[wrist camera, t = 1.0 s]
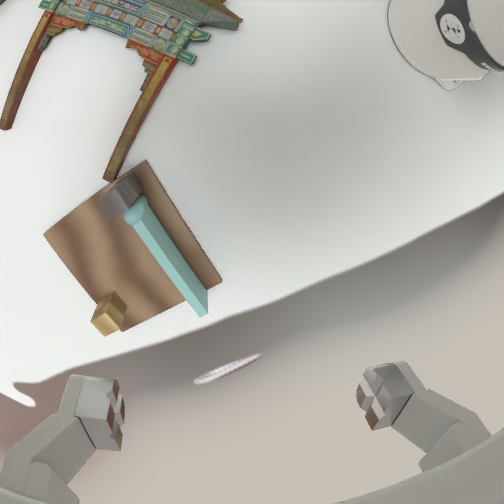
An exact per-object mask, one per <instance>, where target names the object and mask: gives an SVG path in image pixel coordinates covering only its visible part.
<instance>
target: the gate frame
mask: <svg viewBox="0 0 504 504" xmlns="http://www.w3.org/2000/svg"><path fill="white" fill-rule="evenodd" d="M138 195H144V196H146V197H147V198H148V205H149V207H150V208H151V210H152V211H153V213H154V214H155V216H156V217H157V219H158V221H159V222H160V224H161V225H162V227H163V228H164V230H165V231H166V233H167V234H168V236H169V237H170V238H171V240H172V241H173V243H174V244H175V246H176V247H177V249H178V250H179V252H180V253H181V255H182V256H183V258H184V259H185V260H186V262H187V263H188V265H189V266H190V268H191V269H192V271H193V272H194V273H195V275H196V276H197V278H198V279H199V280H200V282H201V283H202V285H203V286H204V288H205V289H206V290H208V289H210V288H212V287H214V286H215V285H217V284H219V283H221V282H222V278H221V277H220V275H219V274H218V272H217V271H216V269H215V268H214V266H213V265H212V263H211V262H210V260H209V259H208V257H207V256H206V254H205V253H204V251H203V250H202V248H201V246H200V245H199V243H198V242H197V240H196V239H195V237H194V236H193V234H192V233H191V231H190V229H189V228H188V226H187V225H186V223H185V222H184V220H183V219H182V217H181V215H180V214H179V212H178V211H177V209H176V207H175V206H174V204H173V203H172V201H171V200H170V198H169V196H168V195H167V193H166V192H165V190H164V188H163V187H162V185H161V184H160V182H159V180H158V179H157V177H156V175H155V174H154V172H153V171H152V169H151V167H150V166H149V164H148V162H147V161H146V160H145V161H144V162H142V163H140V164H139V165H137V166H136V167H134V168H133V169H131V170H130V171H128V172H127V173H125V174H124V175H122V176H121V177H119V178H118V179H116V180H115V181H113V182H112V183H110V184H109V185H107V186H106V187H105V188H103V189H102V190H100V191H99V192H97V193H96V194H95V195H93V196H92V197H91V198H89V199H88V200H86V201H85V202H84V203H82V204H81V205H80V206H78V207H77V208H76V209H74V210H73V211H72V212H70V213H69V214H68V215H67V216H65V217H64V218H63V219H62V220H60V221H59V222H58V223H56V224H55V225H54V226H53V227H51V228H50V229H49V230H48V231H47V232H45V233H44V234H43V235H44V237H45V238H46V239H47V241H48V242H49V244H50V245H51V246H52V248H53V249H54V251H55V252H56V253H57V255H58V256H59V257H60V259H61V260H62V261H63V263H64V264H65V265H66V267H67V268H68V269H69V270H70V272H71V273H72V274H73V276H74V277H75V278H76V279H77V281H78V282H79V283H80V284H81V286H82V287H83V288H84V289H85V290H86V292H87V293H88V294H89V295H90V297H91V298H92V299H93V300H94V301H95V302H96V304H97V307H96V309H95V312H94V314H93V316H92V319H91V321H90V322H91V323H92V324H93V325H94V326H95V327H96V328H97V329H98V330H99V331H100V332H101V333H102V335H103V336H104V337H105V336H107V335H109V334H111V333H113V332H115V331H117V330H119V329H120V331H121V332H123V331H125V330H127V329H130V328H132V327H134V326H136V325H138V324H140V323H142V322H144V321H146V320H148V319H150V318H152V317H154V316H156V315H158V314H160V313H162V312H164V311H166V310H168V309H170V308H172V307H174V306H176V305H178V304H180V303H182V302H184V301H186V299H185V298H184V296H183V295H182V294H181V292H180V291H179V290H178V288H177V287H176V286H175V284H174V283H173V282H172V280H171V279H170V278H169V276H168V275H167V274H166V272H165V271H164V270H163V268H162V267H161V265H160V264H159V263H158V261H157V260H156V259H155V257H154V256H153V254H152V253H151V252H150V250H149V249H148V247H147V246H146V245H145V243H144V242H143V240H142V239H141V237H140V236H139V235H138V233H137V232H136V230H135V229H134V227H133V226H132V225H130V224H128V223H127V222H126V221H125V219H124V214H125V212H126V211H127V210H129V208H130V207H131V205H132V204H133V203H134V201H135V200H136V198H137V197H138Z"/></svg>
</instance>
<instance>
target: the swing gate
mask: <svg viewBox="0 0 504 504" xmlns="http://www.w3.org/2000/svg"><path fill="white" fill-rule="evenodd" d="M124 219H125V221H126V222H127V223H128V224H130V225H132V226H133V227H134V229H135V230H136V232H137V233H138V235H139V236H140V237H141V239H142V240H143V242H144V243H145V245H146V246H147V247H148V249H149V250H150V252H151V253H152V254H153V256H154V257H155V259H156V260H157V261H158V263H159V264H160V265H161V267H162V268H163V270H164V271H165V272H166V274H167V275H168V276H169V278H170V279H171V280H172V282H173V283H174V284H175V286H176V287H177V288H178V290H179V291H180V292H181V294H182V295H183V296H184V298H185V299H186V300H187V302H188V303H189V304H190V305H191V307H192V308H193V309H194V311H195V312H196V313H197V314H198V316H199V317H202V316H204V315H206V314H208V299H207V290H206V289H205V288H204V286H203V285H202V283H201V282H200V280H199V279H198V278H197V276H196V275H195V273H194V272H193V271H192V269H191V268H190V266H189V265H188V263H187V262H186V260H185V259H184V258H183V256H182V255H181V253H180V252H179V250H178V249H177V247H176V246H175V244H174V243H173V241H172V240H171V238H170V237H169V236H168V234H167V233H166V231H165V230H164V228H163V227H162V225H161V224H160V222H159V221H158V219H157V217H156V216H155V214H154V213H153V211H152V210H151V208H150V207H149V205H148V198H147V197H146V196H144V195H138V197H137V198H136V200H135V201H134V203H133V204H132V205H131V207H130V208H129V210H127V211H126V212H125V214H124Z"/></svg>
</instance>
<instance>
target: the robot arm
mask: <svg viewBox="0 0 504 504" xmlns="http://www.w3.org/2000/svg"><path fill="white" fill-rule="evenodd" d="M388 21H389V27H390V31H391V34H392V37H393V39H394V41H395V44H396V45H397V47H398V49H399V51H400V52H401V54H402V55H403V56H404V57H405V59H406V60H407V61H408V62H409V63H410V64H411V65H412V66H413V67H414V68H416V69H417V70H418V71H420V72H422V73H424V74H426V75H428V76H430V77H432V78H434V79H435V80H436V81H437V82H438V83H439V84H440V85H441V86H442V87H443V88H444V89H445V90H453V89H455V88H456V87H458V86H459V85H460V84H462V83H463V82H464V81H466V80H481V79H482V77H483V76H485V75H486V74H487V73H488V72H489V71H490V70H492V71H497V72H504V0H391V2H390V5H389V10H388ZM363 376H364V378H365V379H364V380H363V381H362V382H360V383H359V385H358V388H357V395H356V397H357V401H358V404H359V406H360V408H362V409H363V410H365V411H366V415H365V418H366V420H367V422H368V424H369V426H370V428H371V429H372V431H373V430H377V429H381V428H385V427H389V426H392V428H394V429H395V430H396V431H398V432H399V433H400V434H402V435H403V436H404V437H406V438H407V439H408V440H410V441H411V442H412V443H414V444H415V445H416V446H418V447H419V448H421V449H422V450H423V451H424V452H426V453H427V454H426V455H425V456H424V457H423V458H422V459H421V460H420V462H419V466H420V467H421V470H422V472H423V473H421V474H418V475H416V476H414V477H411V478H409V479H406V480H404V481H402V482H399V483H397V484H394V485H391V486H388V487H386V488H383V489H380V490H377V491H375V492H372V493H368V494H366V495H362V496H359V497H356V498H353V499H349V500H345V501H342V502H338V503H334V504H504V428H503V429H502V430H500V431H498V432H497V433H495V434H494V435H491V434H490V432H489V431H488V430H487V428H486V427H485V425H484V424H483V423H482V421H481V420H480V419H479V417H478V416H477V414H476V413H474V412H472V411H470V410H469V409H467V408H465V407H463V406H461V405H459V404H457V403H455V402H453V401H451V400H449V399H447V398H445V397H444V396H441V395H440V394H438V393H436V392H434V391H432V390H430V389H428V390H426V388H425V387H424V386H423V384H422V383H421V381H420V380H419V379H418V377H417V376H416V375H415V373H414V372H413V370H412V369H411V368H410V366H409V365H408V363H407V362H405V361H399V362H393V363H387V364H383V365H377V366H372V367H368V368H367V369H366V370H365V372H364V374H363ZM124 417H125V406H124V400H123V397H122V396H121V395H120V394H119V384H118V381H117V380H115V379H105V378H97V377H89V376H81V375H73V374H72V375H71V376H70V377H69V380H68V382H67V385H66V389H65V391H64V395H63V398H62V401H61V404H60V408H59V411H58V414H56V413H53V414H52V415H51V416H49V417H48V418H47V419H46V420H45V421H43V422H42V423H41V424H40V425H39V426H37V427H36V428H35V429H34V430H32V431H31V432H30V433H29V434H28V435H26V436H25V437H24V438H23V439H22V440H20V441H19V442H18V443H17V444H16V445H14V446H13V447H12V448H11V449H9V450H8V451H7V453H6V456H5V460H4V463H3V467H2V470H1V474H0V504H79V498H78V497H77V496H76V494H75V493H74V492H73V491H72V490H71V489H70V488H69V487H68V486H67V484H68V483H69V482H70V481H71V479H72V478H73V477H74V476H75V475H76V473H77V472H78V471H79V470H80V469H81V467H82V466H83V465H84V464H85V463H86V461H87V460H88V459H89V458H90V457H91V455H92V454H93V453H94V452H95V451H96V450H95V449H101V450H112V451H121V444H122V432H121V429H120V426H122V425H123V424H124Z"/></svg>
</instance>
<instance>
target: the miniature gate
mask: <svg viewBox="0 0 504 504" xmlns="http://www.w3.org/2000/svg"><path fill="white" fill-rule="evenodd" d="M225 1H226V0H51V1H48V0H42V1H41V3H40V5H39V6H38V7H39V8H42V9H46V10H45V12H44V14H43V16H42V17H41V19H40V21H39V23H38V25H37V27H36V29H35V31H34V33H33V35H32V37H31V39H30V41H29V44H28V46H27V48H26V50H25V53H24V55H23V57H22V60H21V62H20V64H19V67H18V69H17V72H16V74H15V77H14V80H13V82H12V85H11V88H10V91H9V94H8V97H7V100H6V103H5V106H4V109H3V112H2V116H1V119H0V129H2V130H4V131H5V130H8V129H11V128H12V125H13V122H14V119H15V116H16V113H17V111H18V108H19V105H20V103H21V100H22V97H23V95H24V92H25V90H26V88H27V85H28V83H29V81H30V78H31V76H32V73H33V71H34V68H35V66H36V64H37V61H38V59H39V57H40V55H41V53H42V50H44V48H45V46H46V44H47V42H48V40H49V38H50V36H51V35H52V36H54V35H55V34H56V33H60V32H61V31H62V29H63V28H71V27H73V26H77V28H78V30H80V31H82V30H83V28H84V27H85V26H86V24H90V25H93V26H96V27H99V28H102V29H105V30H107V31H110V32H113V33H115V34H118V35H121V36H123V37H126V38H128V42H127V44H126V48H128V49H129V48H132V47H134V48H136V49H137V51H138V54H139V56H141V57H142V58H144V61H143V64H142V65H143V66H145V72H146V73H148V75H147V77H146V79H145V81H144V83H143V85H142V87H141V89H140V90H141V91H143V92H142V94H141V96H140V98H139V100H138V101H137V103H136V105H135V107H134V109H133V111H132V113H131V115H130V117H129V119H128V121H127V123H126V125H125V128H124V130H123V132H122V134H121V136H120V138H119V140H118V143H117V145H116V147H115V149H114V152H113V154H112V156H111V158H110V161H109V163H108V166H107V168H106V170H105V173H104V175H103V178H102V179H104V180H106V181H108V182H110V183H112V182H113V181H114V180H115V179H116V177H117V175H118V173H119V170H120V168H121V166H122V164H123V162H124V159H125V157H126V155H127V153H128V151H129V149H130V147H131V145H132V143H133V141H134V139H135V137H136V135H137V133H138V131H139V129H140V127H141V125H142V123H143V121H144V119H145V117H146V115H147V113H148V111H149V109H150V107H151V106H152V104H153V102H154V100H155V98H156V96H157V95H158V93H159V91H160V89H161V87H162V86H163V84H164V82H165V81H166V79H167V77H168V75H169V74H170V72H171V70H172V69H173V67H174V65H175V64H176V62H177V61H178V59H180V60H182V61H184V62H186V63H188V64H190V65H192V64H193V62H194V60H195V59H196V57H197V56H196V55H194V54H192V53H190V52H188V51H186V50H184V49H185V48H186V46H187V45H188V43H189V42H190V40H192V41H194V42H201V41H208V39H209V38H210V36H211V33H208V32H206V31H204V30H202V29H200V28H198V27H199V26H201V24H202V25H209V26H214V27H220V28H225V29H230V30H237V29H238V26H239V23H241V22H242V21H243V19H241V18H239V17H238V16H237V15H235V14H234V13H233V12H231V11H230V10H228V9H227V8H226V7H225V6H224V5H223V4H222V3H223V2H225Z"/></svg>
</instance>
